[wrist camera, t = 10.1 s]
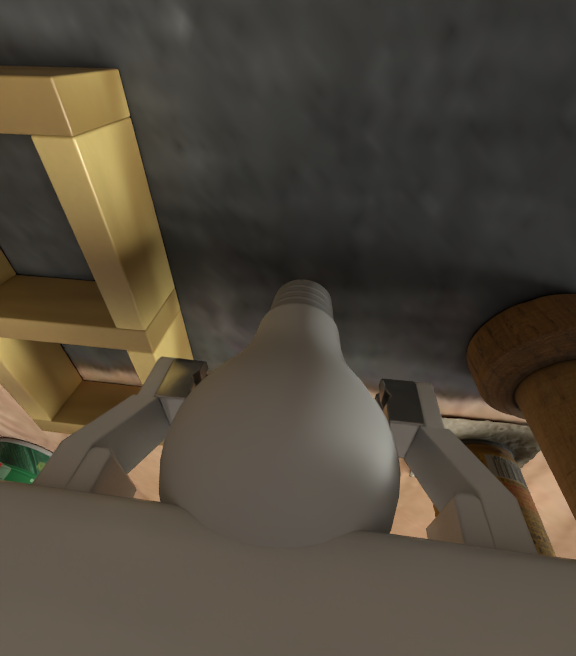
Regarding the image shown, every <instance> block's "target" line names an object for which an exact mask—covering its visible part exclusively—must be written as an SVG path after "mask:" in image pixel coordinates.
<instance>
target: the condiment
mask: <svg viewBox="0 0 576 656" xmlns="http://www.w3.org/2000/svg"><path fill="white" fill-rule="evenodd" d="M442 421H443V424H444V428H445V429H450V430H451V431H452V432H453V433H454V434H455V435H456V436H457V437H458V438H459V440H460V441H461V442H462V443H463V444H464V445H465V446H466V447H467V448H468V449H469V450H470V451H471V452H472V453H473V454H474V455H475V456H476V457H477V458H478V459H479V460H480V461H481V462H482V463H483V464H484V465H485V466H486V467H487V468H488V470H489V471H490V472H491V473H492V474H493V475H494V476H495V477H496V478H497V479H498V480H499V481H500V482H501V483H502V484H503V485H504V486H505V487H506V488H507V489H508V490H509V491H510V492H511V493H512V494H513V495H514V496H515V497H516V498H517V501H518V504H519V506H520V509H521V511H522V514H523V517H524V519H525V522H526V524H527V527H528V530H529V532H530V535H531V537H532V540H533V543H534V545H535V548H536V550H537V553H538V554H539V555H547V556H554V557H556V555H555V552H554V550H553V547H552V545H551V543H550V540H549V538H548V536H547V533H546V531H545V528H544V526H543V523H542V521H541V518H540V516H539V514H538V511H537V509H536V507H535V504H534V502H533V499H532V497H531V495H530V492H529V490H528V487H527V485H526V482H525V480H524V478H523V475H522V473H521V470H520V468H522V467H523V465H524V464H526V463H527V462H529V460H531V459H533V458H534V457H535V455H536V454H537V453H538V452H539V451H540V450H541V449H540V447H539V445H538V443H537V441H536V439H535V437H534V435H533V433H532V431H531V429H530V427H529V426H521V425H517V424H509V423H498V422H491V421H489V420H486V421H473V420H467V419H451V418H442ZM409 476H410V477H411V476H412V477H415V475H414V474H413V472H412V471H411V472H410V475H409ZM433 507H434V510H435V517H437V515H438V514H439V511H438V510H437V508H436V507H435V505H434V504H433Z"/></svg>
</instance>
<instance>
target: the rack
mask: <svg viewBox="0 0 576 656" xmlns="http://www.w3.org/2000/svg"><path fill="white" fill-rule="evenodd" d="M129 116H130V113H129V109H128V105H127V101H126V98H125V94H124V90H123V86H122V82H121V78H120V74H119V71H118V69H116V68H77V67H36V66H0V133H2V134H25V135H32V136H31V138H32V140H33V143H34V145H35V147H36V149H37V152H38V154H39V156H40V158H41V161H42V163H43V165H44V167H45V170H46V172H47V174H48V176H49V178H50V181H51V183H52V185H53V187H54V190H55V192H56V194H57V196H58V199H59V201H60V203H61V205H62V208H63V210H64V212H65V214H66V216H67V219H68V221H69V223H70V225H71V228H72V230H73V232H74V234H75V237H76V239H77V241H78V243H79V246H80V248H81V250H82V252H83V254H84V257H85V259H86V261H87V263H88V266H89V268H90V270H91V272H92V275H93V277H94V279H95V281H85V280H73V279H61V278H49V277H36V276H24V275H16V273H15V271H14V270H13V268H12V266H11V265H10V263H9V262H8V260H7V258H6V257H5V255H4V254H3V252H2V250H1V249H0V383H1V385H2V386H3V387H4V388H5V389H6V390H7V391H8V392H9V394H10V395H11V396H12V397H13V398H14V399H15V400H16V401H17V402H18V404H19V405H20V406H21V407H22V408H23V409H24V410H25V411H26V413H27V414H28V415H29V416H30V417H31V418H32V419H33V421H34V422H35V423H36V424H37V425H38V426H39V427H40V428H41V430H43V431H50V432H58V433H66V434H73V433H75V432H76V431H78V430H79V429H81V428H82V427H84V426H86V425H87V424H89V423H90V422H92V421H93V420H95V419H96V418H98V417H99V416H101V415H102V414H104V413H105V412H107V411H108V410H110V409H112V408H113V407H115V406H116V405H118V404H119V403H121V402H122V401H124V400H125V399H127V398H128V397H130V396H131V395H133V394H134V395H137V394H138V393H139V391H140V389H141V388H142V387H137V386H128V385H119V384H110V383H101V382H92V381H83V380H82V378H81V377H80V375H79V374H78V372H77V370H76V369H75V367H74V366H73V364H72V362H71V361H70V359H69V358H68V356H67V355H66V353H65V351H64V350H63V348H62V347H61V345H60V343H62V344H72V345H82V346H92V347H102V348H112V349H122V350H127V353H128V355H129V357H130V359H131V362H132V364H133V366H134V368H135V370H136V373H137V375H138V377H139V379H140V382H141V384H142V386H143V384H144V382H145V381H146V379H147V377H148V376H149V374H150V372H151V370H152V369H153V367H154V365H155V364H156V362H157V360H158V359H159V358H160V357H162V356H164V357H172V358H182V359H189V360H193V356H192V352H191V348H190V344H189V340H188V337H187V333H186V329H185V325H184V321H183V317H182V314H181V310H180V306H179V302H178V298H177V294H176V290H175V288H174V283H173V279H172V275H171V271H170V267H169V263H168V260H167V256H166V252H165V248H164V244H163V240H162V237H161V233H160V229H159V225H158V221H157V217H156V214H155V210H154V206H153V202H152V198H151V194H150V191H149V187H148V183H147V179H146V175H145V171H144V168H143V164H142V160H141V156H140V152H139V148H138V145H137V141H136V137H135V133H134V129H133V125H132V122H131V119H130V118H129ZM164 441H165V439H164V440H163V441H162V442H161V443H160V444H159V445H162V446H163V445H164Z"/></svg>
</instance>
